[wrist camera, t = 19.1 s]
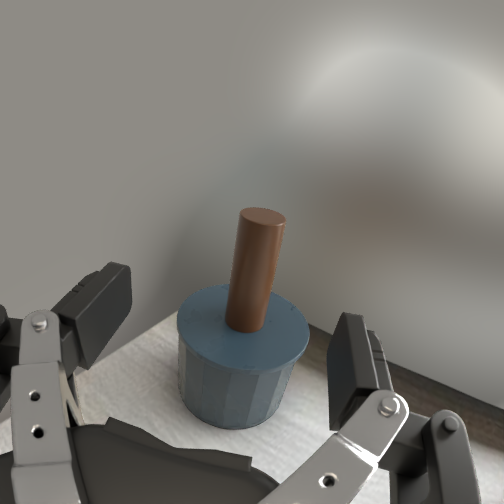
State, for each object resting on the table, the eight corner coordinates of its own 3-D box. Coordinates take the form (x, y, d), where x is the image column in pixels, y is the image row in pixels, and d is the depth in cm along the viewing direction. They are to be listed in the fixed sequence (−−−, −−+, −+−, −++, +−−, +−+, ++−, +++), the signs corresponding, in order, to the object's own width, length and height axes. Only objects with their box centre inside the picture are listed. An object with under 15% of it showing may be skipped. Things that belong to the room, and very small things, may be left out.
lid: (151, 348, 20) (148, 220, 16) (209, 282, 28) (221, 183, 24) (290, 400, 18) (335, 273, 14) (314, 315, 26) (344, 214, 22)
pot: (160, 403, 23) (155, 339, 20) (205, 341, 31) (210, 278, 28) (264, 444, 21) (286, 387, 18) (290, 370, 29) (311, 309, 26)
